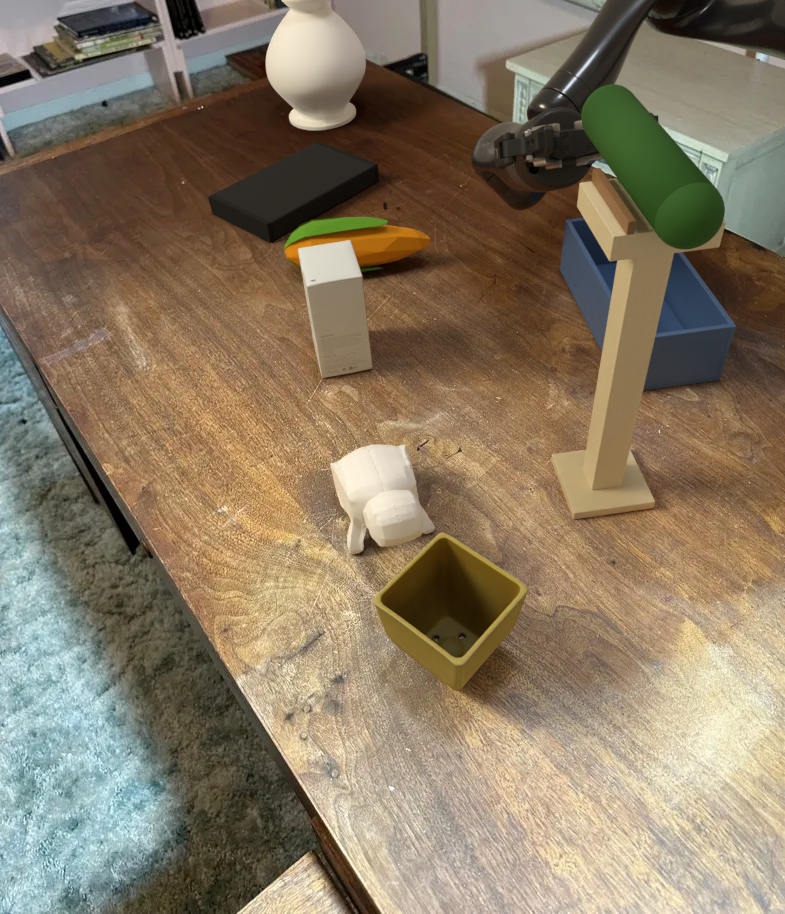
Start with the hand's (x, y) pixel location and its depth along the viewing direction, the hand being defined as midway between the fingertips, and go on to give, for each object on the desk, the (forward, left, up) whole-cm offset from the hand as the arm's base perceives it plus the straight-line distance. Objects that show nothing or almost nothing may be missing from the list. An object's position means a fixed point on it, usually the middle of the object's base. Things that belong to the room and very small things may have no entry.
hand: (599, 132), depth 64 cm
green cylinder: (0, +10, 0) cm, 10 cm away
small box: (+24, -13, -30) cm, 41 cm away
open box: (-12, -12, -30) cm, 35 cm away
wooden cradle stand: (0, +12, -30) cm, 32 cm away
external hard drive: (+28, -54, -30) cm, 68 cm away
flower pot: (+18, +29, -30) cm, 45 cm away
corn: (+20, -32, -30) cm, 49 cm away
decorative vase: (+22, -84, -30) cm, 92 cm away
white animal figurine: (+22, +14, -30) cm, 40 cm away
